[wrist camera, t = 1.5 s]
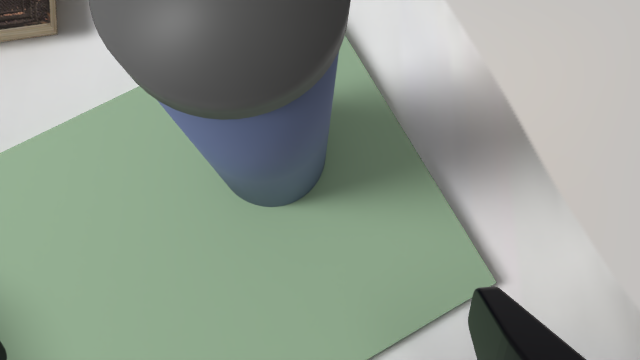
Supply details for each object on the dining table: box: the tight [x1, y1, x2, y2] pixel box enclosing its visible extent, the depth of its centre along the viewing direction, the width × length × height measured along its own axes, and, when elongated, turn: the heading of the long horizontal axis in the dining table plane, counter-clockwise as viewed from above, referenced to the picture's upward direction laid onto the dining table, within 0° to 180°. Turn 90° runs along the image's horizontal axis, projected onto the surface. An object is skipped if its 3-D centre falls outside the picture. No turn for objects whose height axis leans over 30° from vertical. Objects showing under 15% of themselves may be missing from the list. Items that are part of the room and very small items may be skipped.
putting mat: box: [0, 36, 497, 360], centre depth 21 cm, size 16×34×1 cm, turn 119°
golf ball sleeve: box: [89, 0, 351, 207], centre depth 16 cm, size 5×5×13 cm
